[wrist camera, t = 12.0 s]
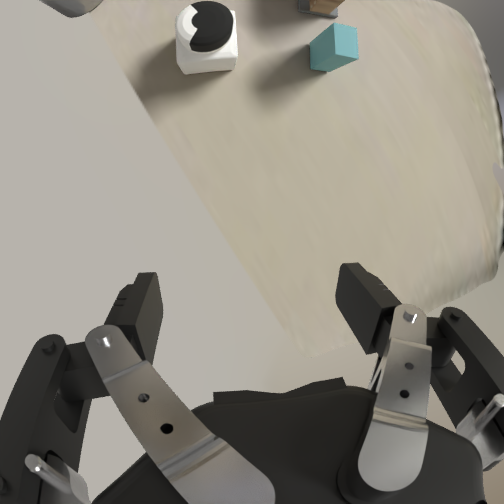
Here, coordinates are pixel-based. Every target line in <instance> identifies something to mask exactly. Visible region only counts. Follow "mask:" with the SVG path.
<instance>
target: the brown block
mask: <svg viewBox="0 0 504 504" xmlns="http://www.w3.org/2000/svg"><path fill="white" fill-rule="evenodd" d="M343 1H345V0H298V12H304V13H310V14H316V15H322V16H327V17H332V18H337V17H338V10H337V7H338V6H339V5H340V4H341V3H342V2H343Z"/></svg>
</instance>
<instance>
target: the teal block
mask: <svg viewBox="0 0 504 504" xmlns="http://www.w3.org/2000/svg"><path fill="white" fill-rule="evenodd" d="M357 59H359V57H358V39H357V28H354V27H351V26H346V25H342V24H338V23H333V24H332V25H330V26H329V27H328V28H327V29H326V30H324V31H323V32H322V33H321V34H320V35H318V36H317V37H316V38H315V39H314V40H313V41H311V42H310V69H313V70H321V71H327V72H330V71H332V70H335V69H337V68H339V67H341V66H343V65H346V64H348V63H350V62H353V61H355V60H357Z"/></svg>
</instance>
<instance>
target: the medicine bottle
mask: <svg viewBox="0 0 504 504" xmlns="http://www.w3.org/2000/svg"><path fill="white" fill-rule="evenodd" d="M175 29H176V59H177V64H178V65H179V67H180V69H181V70H182V72H183V73H184V74H185V75H187V74H194V73H203V72H213V71H225V70H234V69H235V65H236V61H237V57H238V51H237V35H236V20H235V12H234V11H233V10H229V9H228V8H227V7H226V6H224V5H222V4H220V3H218V2H214V1H201V2H197V3H194V4H191V5H189V6H188V7H186V8H185V9H183V10H182V11H181V13H180V14H179V15H178V16H177V17H176V23H175Z"/></svg>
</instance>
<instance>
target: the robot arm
mask: <svg viewBox="0 0 504 504" xmlns="http://www.w3.org/2000/svg"><path fill="white" fill-rule="evenodd" d="M39 1H41V2H43V3H45V4H47V5H48V6H50V7H52V8H53V9H55V10H57V11H58V12H60V13H61V14H63V15H65V16H67V17H71V18H72V17H79V16H82V15H84V14H86V13H88V12H90V11H91V10H92V9H94V8H95V7H96V6H97V5H99V4H100V3H101V1H102V0H39ZM335 298H336V304H337V307H338V308H339V310H340V312H341V313H342V315H343V316H344V318H345V320H346V321H347V323H348V325H349V326H350V328H351V330H352V331H353V333H354V335H355V336H356V338H357V340H358V341H359V343H360V345H361V346H362V348H363V350H364V351H365V353H366V355H367V354H372V353H376V352H377V353H378V357H377V360H376V363H375V366H374V370H373V373H372V376H371V379H370V383H369V386H368V389H365V388H361V387H356V386H346V384H345V382H344V379H343V377H340V378H335V379H329V380H325V381H318V382H313V383H310V384H308V385H305V386H302V387H300V388H297V389H294V390H291V391H289V392H286V393H268V392H258V391H249V390H243V391H227V392H213V397H214V401H213V402H209V403H206V404H204V405H200V406H198V407H196V408H194V409H193V410H191V411H190V410H189V409H188V408H187V406H186V405H185V404H184V403H183V402H182V401H181V400H180V399H179V398H178V396H176V394H175V393H174V392H173V391H172V389H171V388H170V387H169V386H168V385H167V384H166V382H165V381H164V380H163V379H162V378H161V376H160V375H159V374H158V373H157V372H156V370H155V369H154V368H153V366H152V364H153V359H154V354H155V349H156V345H157V340H158V336H159V331H160V327H161V323H162V318H163V303H162V298H161V292H160V287H159V281H158V276H157V273H156V272H147V273H138V275H137V277H136V280H135V281H134V284H129V285H127V286H126V287H124V288H123V289H122V290H121V291H120V292H119V294H118V296H117V300H115V302H114V304H113V306H112V308H111V311H110V313H109V315H108V317H107V319H106V321H105V323H104V325H102V326H99V327H96V328H94V329H93V330H91V331H90V332H89V333H88V335H87V336H86V338H85V342H80V343H75V344H69V345H66V343H65V341H64V339H63V337H61V336H60V335H57V334H52V335H47V336H45V337H43V338H41V339H39V341H37V342H36V344H35V345H34V347H33V349H32V351H31V353H30V354H29V356H28V358H27V360H26V362H25V365H24V366H23V368H22V370H21V372H20V375H19V377H18V379H17V381H16V383H15V385H14V388H13V390H12V392H11V395H10V397H9V399H8V402H7V404H6V407H5V409H4V412H3V415H2V417H1V420H0V504H91V502H90V501H89V497H88V490H87V485H86V482H85V481H84V479H83V478H82V477H81V476H80V475H79V474H78V468H79V462H80V455H81V449H82V443H83V438H84V433H85V428H86V423H87V418H88V414H89V410H90V405H91V401H92V399H94V398H99V397H105V396H111V397H112V399H113V401H114V402H115V404H116V405H117V407H118V409H119V411H120V413H121V414H122V416H123V417H124V419H125V421H126V422H127V424H128V425H129V427H130V429H131V430H132V432H133V433H134V435H135V436H136V438H137V439H138V440H139V442H140V443H141V445H142V446H143V448H144V449H145V451H146V453H145V454H143V455H142V456H141V457H140V458H139V459H138V460H137V461H136V462H135V463H134V464H133V465H132V466H131V467H130V468H129V469H127V471H125V472H124V473H123V474H122V475H121V476H120V477H119V478H118V479H117V480H115V481H114V482H113V483H112V484H111V485H110V486H109V487H107V488H106V489H105V490H104V491H103V492H102V493H101V494H100V495H98V496H97V497H96V498H95V499H94V501H93V502H92V504H487V502H486V500H485V495H484V488H483V471H488V470H490V469H491V468H492V467H494V466H495V465H496V464H498V463H499V462H500V461H501V460H503V459H504V357H503V355H502V354H501V353H500V352H499V351H498V349H497V348H496V347H495V346H494V345H493V344H492V342H491V341H490V340H489V339H488V338H487V336H486V335H485V334H484V333H483V332H482V331H481V330H480V329H479V327H478V326H477V325H476V324H475V323H474V322H473V321H472V320H471V319H470V318H469V317H468V316H467V314H465V312H463V311H462V310H460V309H458V308H454V307H446V308H444V309H443V310H442V312H441V315H440V317H439V318H435V317H426V314H425V313H424V312H423V311H422V310H421V309H420V308H418V307H416V306H414V305H410V304H402V303H401V302H400V301H399V300H398V299H397V298H396V297H395V295H394V294H393V293H392V292H391V291H390V290H388V288H387V287H386V286H385V285H383V283H382V281H381V280H380V279H379V278H378V277H376V276H374V275H373V274H371V273H369V272H367V271H366V270H365V269H364V268H363V267H362V266H361V265H360V264H359V263H343V264H342V265H341V267H340V271H339V277H338V283H337V289H336V295H335ZM455 350H457V351H458V353H459V354H460V355H461V357H462V358H463V360H464V361H465V371H464V373H463V375H461V373H460V372H459V371H458V369H457V368H456V366H455V365H454V363H453V362H452V360H451V358H452V356H453V354H454V352H455ZM430 384H431V385H432V387H433V389H434V391H435V392H436V394H437V396H438V397H439V399H440V401H441V403H442V405H443V406H444V408H445V410H446V411H447V414H448V415H449V417H450V419H451V421H452V423H453V424H454V426H455V428H456V433H454V432H452V431H450V430H448V429H446V428H444V427H442V426H440V425H437V424H435V423H433V422H431V421H429V420H427V419H426V415H427V407H428V398H429V389H430Z"/></svg>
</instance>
